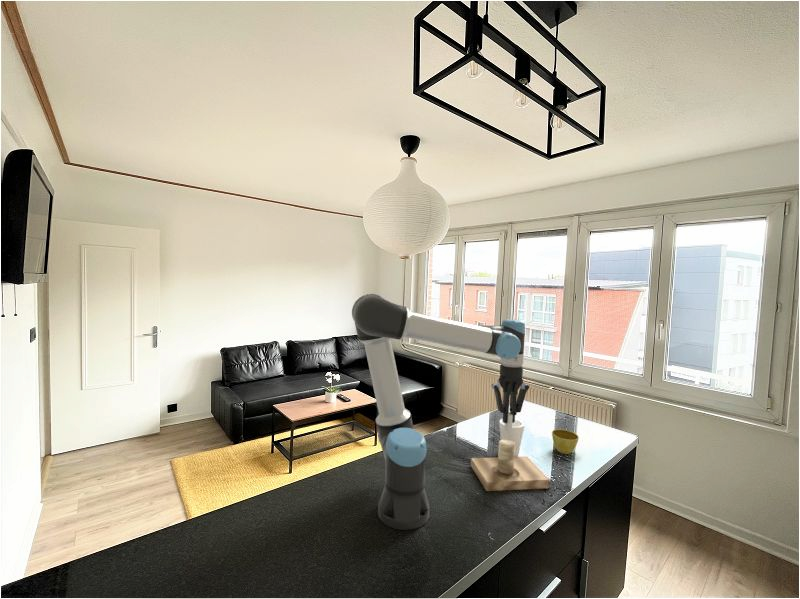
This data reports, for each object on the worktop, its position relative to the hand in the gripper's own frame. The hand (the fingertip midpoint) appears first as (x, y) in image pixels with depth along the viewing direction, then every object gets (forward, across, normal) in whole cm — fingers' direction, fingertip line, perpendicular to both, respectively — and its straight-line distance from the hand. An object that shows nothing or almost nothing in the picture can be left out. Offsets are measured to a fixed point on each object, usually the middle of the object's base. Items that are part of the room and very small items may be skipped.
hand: (508, 431), depth 128 cm
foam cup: (+18, +10, +18) cm, 27 cm away
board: (+17, +2, +2) cm, 18 cm away
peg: (+17, 0, 0) cm, 17 cm away
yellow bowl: (+18, +34, +19) cm, 43 cm away
